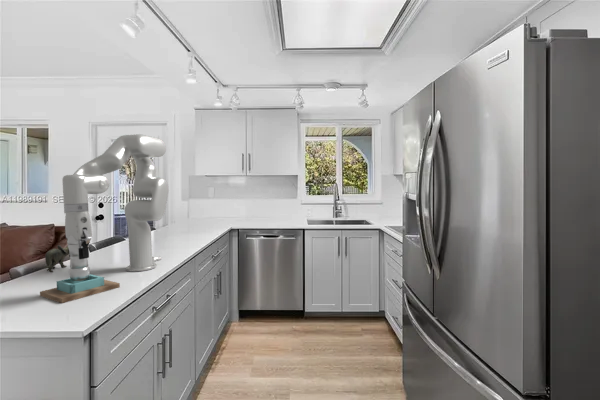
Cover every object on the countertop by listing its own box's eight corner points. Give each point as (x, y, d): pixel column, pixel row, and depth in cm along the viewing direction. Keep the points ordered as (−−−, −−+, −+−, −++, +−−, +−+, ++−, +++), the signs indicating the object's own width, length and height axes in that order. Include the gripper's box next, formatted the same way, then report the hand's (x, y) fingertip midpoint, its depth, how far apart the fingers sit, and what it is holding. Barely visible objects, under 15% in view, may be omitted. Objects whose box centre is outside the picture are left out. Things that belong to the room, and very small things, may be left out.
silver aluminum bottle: (80, 283, 127) (77, 227, 125) (64, 282, 128) (61, 227, 127) (94, 278, 133) (91, 225, 132) (79, 277, 134) (76, 225, 133)
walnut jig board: (96, 281, 143) (96, 270, 143) (119, 287, 135) (119, 275, 135) (40, 295, 126) (39, 283, 126) (62, 303, 118) (61, 290, 118)
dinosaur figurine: (46, 276, 154) (44, 250, 153) (27, 276, 154) (25, 250, 153) (78, 264, 175) (77, 241, 175) (61, 264, 176) (60, 241, 175)
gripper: (99, 208, 128) (102, 257, 129) (75, 207, 137) (77, 253, 138) (77, 210, 121) (80, 262, 122) (53, 208, 130) (56, 257, 131)
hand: (79, 257), depth 130 cm, fingers closed on silver aluminum bottle, 6 cm apart
